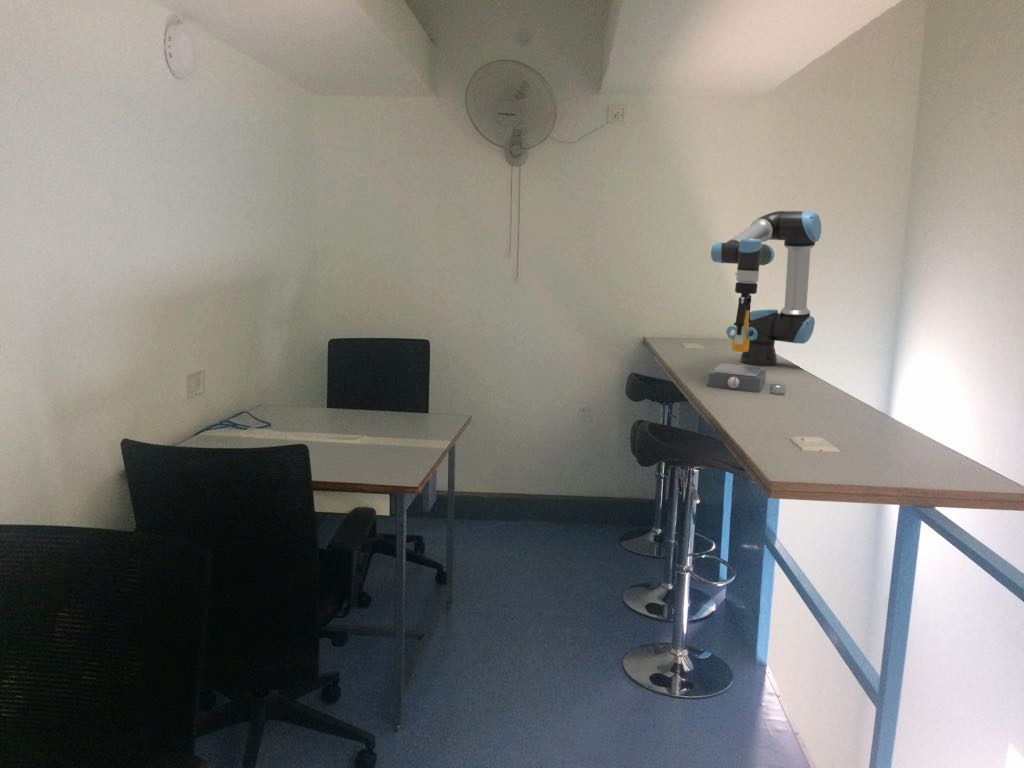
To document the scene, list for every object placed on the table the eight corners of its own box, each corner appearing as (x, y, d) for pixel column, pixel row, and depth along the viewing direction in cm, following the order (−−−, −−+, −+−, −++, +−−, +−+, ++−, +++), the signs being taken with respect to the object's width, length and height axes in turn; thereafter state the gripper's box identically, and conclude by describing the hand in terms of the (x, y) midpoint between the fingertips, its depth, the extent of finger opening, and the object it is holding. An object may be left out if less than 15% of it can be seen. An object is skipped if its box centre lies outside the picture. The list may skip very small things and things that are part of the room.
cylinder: (756, 354, 268) (760, 312, 265) (726, 352, 270) (730, 310, 267) (753, 349, 280) (757, 309, 276) (724, 347, 282) (727, 307, 278)
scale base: (716, 378, 289) (717, 365, 288) (764, 383, 282) (766, 370, 281) (707, 386, 272) (708, 373, 271) (758, 392, 265) (760, 379, 264)
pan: (719, 375, 287) (721, 363, 286) (760, 380, 281) (762, 367, 280) (712, 382, 274) (714, 369, 272) (755, 387, 267) (756, 373, 266)
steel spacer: (770, 391, 268) (771, 383, 268) (785, 393, 266) (786, 385, 266) (769, 394, 264) (769, 385, 263) (784, 395, 262) (784, 387, 261)
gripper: (740, 279, 282) (735, 336, 286) (730, 283, 260) (724, 344, 265) (761, 281, 279) (755, 338, 283) (753, 284, 257) (746, 346, 262)
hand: (740, 341), depth 274 cm, fingers closed on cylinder, 12 cm apart
